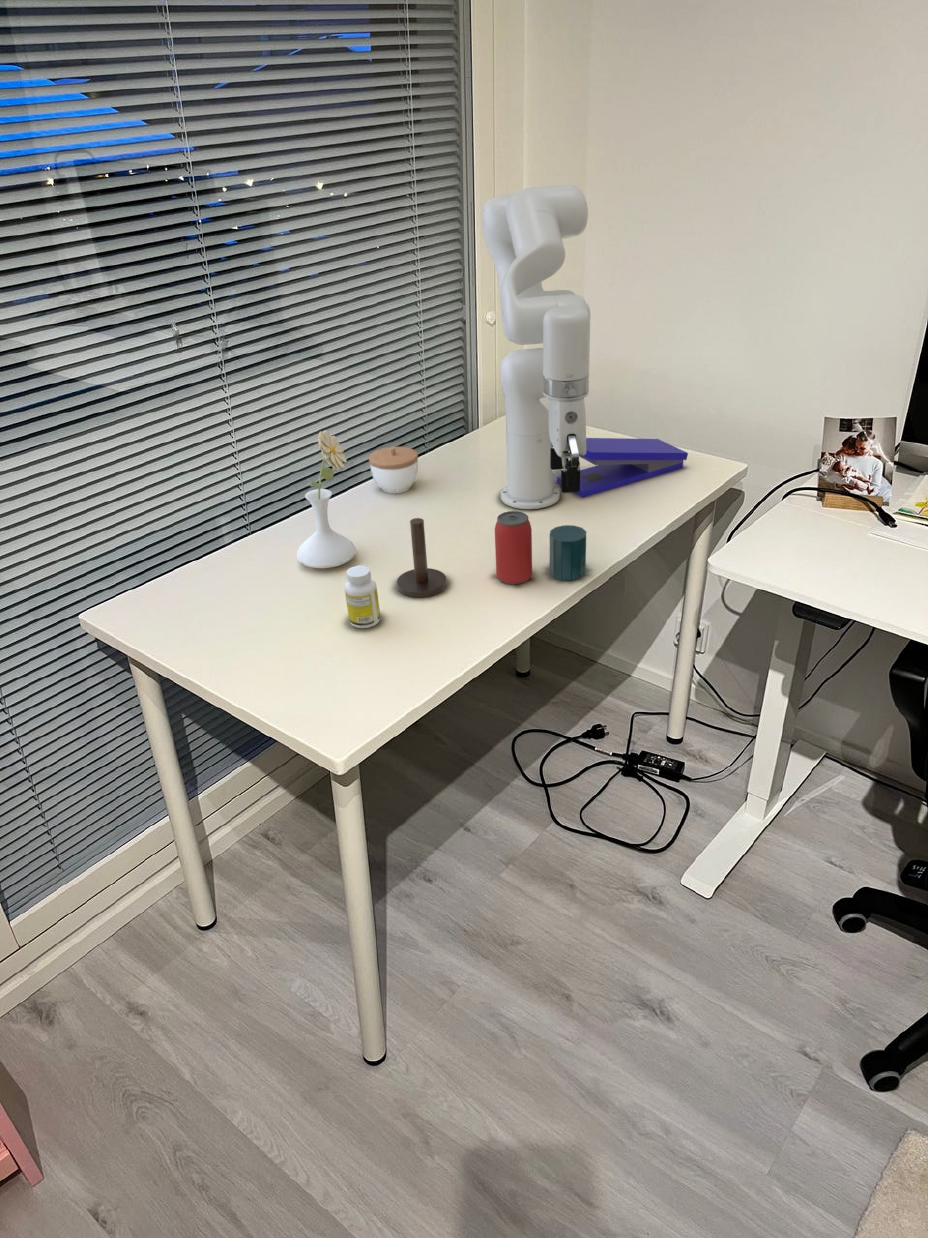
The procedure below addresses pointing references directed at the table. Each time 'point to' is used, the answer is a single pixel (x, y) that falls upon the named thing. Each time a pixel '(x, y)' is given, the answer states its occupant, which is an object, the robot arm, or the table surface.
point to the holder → (420, 568)
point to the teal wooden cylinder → (567, 552)
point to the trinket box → (394, 468)
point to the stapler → (625, 462)
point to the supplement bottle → (361, 598)
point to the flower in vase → (325, 515)
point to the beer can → (513, 547)
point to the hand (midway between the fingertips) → (564, 479)
